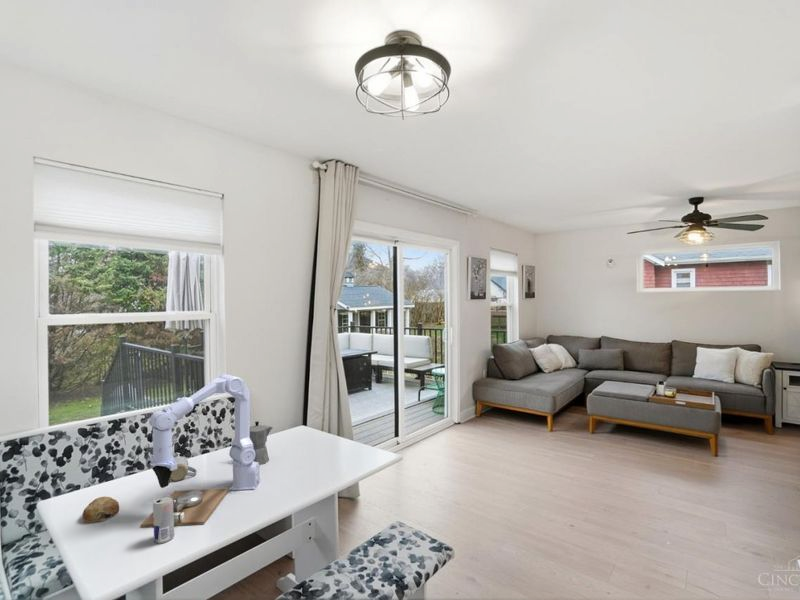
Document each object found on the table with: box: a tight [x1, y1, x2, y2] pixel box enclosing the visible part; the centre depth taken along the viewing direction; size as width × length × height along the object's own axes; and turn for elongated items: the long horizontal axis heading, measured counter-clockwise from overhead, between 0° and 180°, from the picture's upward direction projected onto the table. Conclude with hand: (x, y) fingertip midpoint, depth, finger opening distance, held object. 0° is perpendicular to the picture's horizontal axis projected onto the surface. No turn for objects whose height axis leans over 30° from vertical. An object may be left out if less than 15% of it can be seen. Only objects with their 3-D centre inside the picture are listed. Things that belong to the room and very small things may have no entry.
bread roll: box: [82, 496, 120, 524], centre depth 142 cm, size 10×10×8 cm
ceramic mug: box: [170, 456, 198, 482], centre depth 172 cm, size 11×8×8 cm
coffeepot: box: [250, 420, 273, 466], centre depth 185 cm, size 15×9×18 cm, turn 103°
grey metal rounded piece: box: [173, 491, 203, 513], centre depth 145 cm, size 14×8×5 cm, turn 171°
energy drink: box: [152, 495, 175, 544], centre depth 128 cm, size 5×5×12 cm
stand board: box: [140, 487, 230, 529], centre depth 146 cm, size 20×23×4 cm
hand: (164, 486), depth 142 cm, fingers closed
